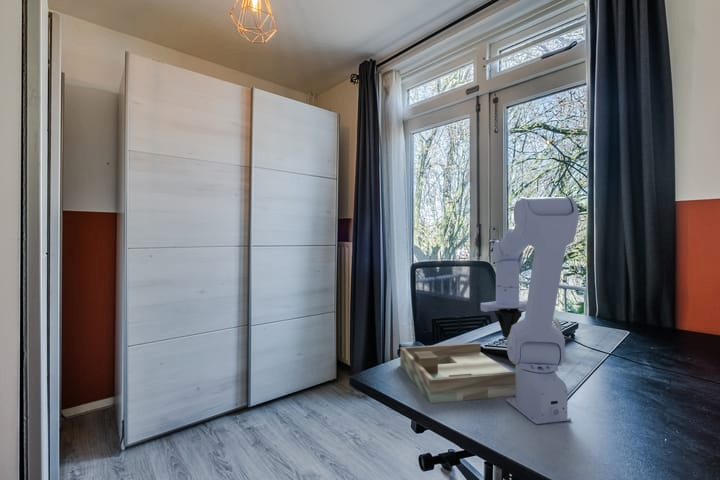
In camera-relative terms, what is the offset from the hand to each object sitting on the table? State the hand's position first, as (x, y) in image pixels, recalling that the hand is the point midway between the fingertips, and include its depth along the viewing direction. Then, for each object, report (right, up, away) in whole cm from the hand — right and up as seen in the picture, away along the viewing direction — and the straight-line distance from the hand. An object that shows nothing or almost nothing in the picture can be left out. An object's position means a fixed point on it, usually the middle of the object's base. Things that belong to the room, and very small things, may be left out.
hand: (507, 337), depth 88 cm
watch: (+21, -10, +18) cm, 29 cm away
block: (-23, -7, -5) cm, 24 cm away
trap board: (-14, -9, -4) cm, 17 cm away
